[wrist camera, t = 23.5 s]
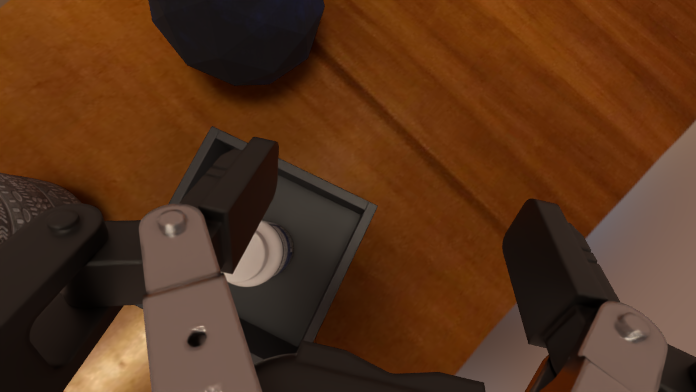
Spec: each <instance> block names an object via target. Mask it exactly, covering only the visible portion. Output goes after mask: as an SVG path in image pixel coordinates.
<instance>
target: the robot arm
mask: <svg viewBox="0 0 696 392" xmlns="http://www.w3.org/2000/svg"><path fill="white" fill-rule="evenodd" d="M278 154H279V146H278V142H276V141H271V140H267V139H262V138H258V137H253V138H252V139H251V140H250V141H249V143H248V144H247V145H246V146H245V148H244V149H243V150H240V149H235V148H234V149H232V150H230V151H228V152H226V153H224V154H222V155H221V156H220V157H219V158H218V159H217V160H216V161H215V163H214V164H213V165H212V167H210V168H209V169H208V170H207V172H206V173H205V175H203V176H202V177H201V178H200V180H199V181H198V182H197V183H196V184H195V185H194V186H193V187H192V189H191V190H190V191H189V192H188V193H187V194H186V195H185V197H184V198H183V199H182V200H181V201H180V202H179V203H178V204H169V205H164V206H161V207H158V208H156V209H154V210H152V211H151V212H149V213H148V214H146V215H145V216H144V218H143V219H142V220H136V221H104V219H103V216H102V214H101V212H100V210H99V209H98V208H96V207H94V206H92V205H89V204H83V203H72V204H64V205H60V206H56V207H53V208H50V209H48V210H46V211H43V212H42V213H40V214H38V215H37V216H35V217H34V218H33V219H31V220H30V221H29V222H28V223H26V224H25V225H24V226H23V227H21V228H20V229H19V230H18V231H17V232H15V233H14V234H13V235H12V236H10V237H9V238H8V239H7V240H5V241H4V242H3V243H2V244H0V392H63V391H64V389H65V388H66V386H67V385H68V384H69V382H70V381H71V379H72V378H73V376H74V375H75V374H76V372H77V371H78V369H79V368H80V367H81V365H82V364H83V362H84V361H85V360H86V358H87V357H88V355H89V354H90V352H91V351H92V350H93V348H94V347H95V345H96V344H97V343H98V341H99V340H100V338H101V337H102V335H103V334H104V333H105V331H106V330H107V328H108V327H109V326H110V324H111V323H112V321H113V320H114V318H115V317H116V316H117V314H118V313H119V311H120V310H121V309H122V307H123V306H124V305H136V304H143V312H144V321H145V331H146V341H147V350H148V360H149V369H150V379H151V389H152V392H485V386H484V383H483V382H479V381H474V380H470V379H466V378H461V377H457V376H453V375H449V374H445V373H440V372H429V373H404V374H393V373H389V372H387V371H385V370H383V369H381V368H379V367H377V366H375V365H373V364H371V363H369V362H367V361H365V360H363V359H361V358H360V357H358V356H356V355H354V354H352V353H350V352H348V351H346V350H342V349H338V348H334V347H329V346H325V345H321V344H317V343H312V342H308V341H304V340H301V343H300V346H299V350H298V353H290V354H283V355H277V356H274V357H270V358H267V359H264V360H262V361H260V362H257V363H255V364H253V361H252V358H251V355H250V352H249V348H248V345H247V342H246V339H245V336H244V333H243V329H242V326H241V323H240V320H239V317H238V314H237V310H236V307H235V304H234V301H233V298H232V295H231V291H230V288H229V285H228V282H227V279H226V276H225V274H224V273H228V274H233V273H234V271H235V269H236V267H237V265H238V263H239V262H240V260H241V258H242V256H243V254H244V252H245V250H246V249H247V247H248V245H249V243H250V241H251V239H252V237H253V236H254V234H255V232H256V230H257V228H258V226H259V224H260V223H261V221H262V219H263V217H264V215H265V213H266V211H267V209H268V208H269V206H270V204H271V202H272V200H273V198H274V195H275V192H276V188H277V181H278ZM502 249H503V254H504V258H505V261H506V265H507V269H508V272H509V276H510V279H511V283H512V286H513V290H514V294H515V297H516V301H517V304H518V308H519V312H520V315H521V318H522V322H523V326H524V329H525V333H526V337H527V340H528V344H531V345H535V346H540V347H544V348H547V350H548V353H549V355H548V356H547V357H546V358H545V359H544V360H543V361H542V363H541V364H540V366H539V368H538V370H537V371H536V373H535V375H534V376H533V378H532V380H531V382H530V384H529V385H528V387H527V389H526V390H525V392H696V357H694V356H692V355H690V354H688V353H686V352H683V351H681V350H679V349H677V348H675V347H673V346H671V345H669V344H667V342H666V339H665V337H664V335H663V334H662V332H661V331H660V330H659V328H658V327H657V326H656V325H655V324H654V323H653V322H652V321H651V320H650V319H649V318H648V317H646V316H645V315H644V314H642V313H641V312H639V311H638V310H636V309H634V308H632V307H631V306H629V305H626V304H623V303H620V301H619V299H618V297H617V295H616V294H615V292H614V290H613V288H612V287H611V285H610V283H609V281H608V279H607V278H606V276H605V274H604V272H603V270H602V269H601V267H600V265H599V264H597V260H596V258H595V256H594V254H593V253H591V249H590V247H589V246H588V244H587V242H586V240H585V238H584V237H583V236H582V235H581V234H580V233H579V232H578V231H577V230H576V229H575V228H574V227H573V226H572V225H571V224H570V223H568V222H567V220H566V219H565V217H564V215H563V213H562V211H561V209H560V207H559V206H558V205H557V204H555V203H550V202H546V201H541V200H537V199H528V200H527V201H526V202H525V203H524V205H523V206H522V208H521V210H520V211H519V213H518V214H517V216H516V218H515V219H514V221H513V222H512V224H511V226H510V227H509V229H508V230H507V232H506V234H505V236H504V239H503V246H502ZM221 272H222V273H221ZM223 272H224V273H223Z"/></svg>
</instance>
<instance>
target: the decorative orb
mask: <svg viewBox="0 0 696 392" xmlns="http://www.w3.org/2000/svg"><path fill="white" fill-rule="evenodd" d="M149 5H150V11H151V16H152V21H153V23H154V24H155V25H156V27H157V28H158V29H159V30H160V32H161V33H162V34H163V35H164V37H165V38H166V39H167V40H168V42H169V43H170V44H171V45H172V47H173V48H174V49H175V50H176V52H177V53H178V54H179V55H180V57H181V58H182V59H183V60H184V62H185V63H186V64H187V65H188V66H191V67H193V68H195V69H198V70H200V71H202V72H204V73H207V74H209V75H211V76H214V77H216V78H218V79H221V80H223V81H225V82H227V83H230V84H232V85H234V86H238V85H267V84H271V83H272V82H274V81H275V80H277V79H278V78H280V77H281V76H283V75H284V74H286V73H287V72H288V71H290V70H291V69H293V68H294V67H296V66H297V65H299V64H300V63H302V62H303V61H305V60H306V59H308V56H309V53H310V50H311V47H312V44H313V41H314V38H315V35H316V32H317V29H318V26H319V23H320V19H321V16H322V13H323V10H324V7H325V6H324V2H323V0H149Z"/></svg>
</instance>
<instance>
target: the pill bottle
mask: <svg viewBox="0 0 696 392" xmlns="http://www.w3.org/2000/svg"><path fill="white" fill-rule="evenodd" d="M292 255H293V242H292V239H291V237H290V235H289V233H288V232H287V231H286V230H285V229H284V228H283V227H281V226H280V225H278V224H275V223H272V222H268V221H261V223H260V224H259V226H258V228H257V230H256V232H255V234H254V236H253V237H252V239H251V241H250V243H249V245H248V247H247V249H246V250H245V252H244V254H243V256H242V258H241V260H240V262H239V263H238V265H237V267H236V269H235V271H234V273H233V274H228V273H224V272H223V273H224V274H225V276H226V279H227V281H228V282H230V283H231V284H234V285H236V286H242V287H252V286H257V285H260V284H262V283H264V282H266V281H268V280H269V279H271V278H273V277H274V276H276V275H278V274H279V273H281V272H282V271H283V270H284V269H285V268H286V267H287V266H288V264H289V263H290V261H291V258H292ZM221 273H222V272H221Z"/></svg>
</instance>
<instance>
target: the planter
mask: <svg viewBox="0 0 696 392" xmlns="http://www.w3.org/2000/svg"><path fill="white" fill-rule="evenodd" d="M72 203H81V202H80V201H79V200H78V199H77V198H76V197H75V196H74V195H73V194H72V193H70V192H69V191H68V190H66V189H64V188H63V187H61V186H59V185H56V184H53V183H50V182H46V181H42V180H37V179H33V178H28V177H22V176H15V175H9V174H4V173H0V244H2V243H3V242H4V241H5V240H7V239H8V238H9V237H10V236H12V235H13V234H14V233H15V232H17V231H18V230H19V229H20V228H21V227H23V226H24V225H25V224H26V223H28V222H29V221H30V220H31V219H33V218H34V217H35V216H37V215H38V214H40V213H42V212H43V211H46V210H48V209H50V208H53V207H56V206H60V205H64V204H72Z"/></svg>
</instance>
